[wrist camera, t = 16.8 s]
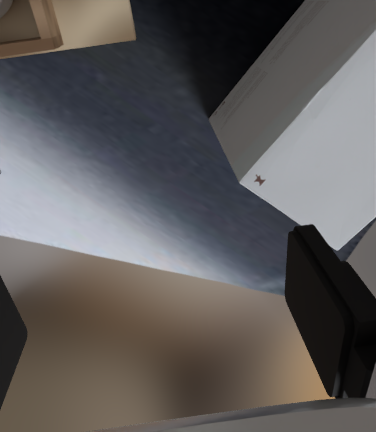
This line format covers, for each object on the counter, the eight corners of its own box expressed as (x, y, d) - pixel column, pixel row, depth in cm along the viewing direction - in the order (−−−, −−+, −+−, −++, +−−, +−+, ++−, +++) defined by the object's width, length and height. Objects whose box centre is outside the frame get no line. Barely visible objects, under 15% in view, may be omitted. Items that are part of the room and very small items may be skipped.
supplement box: (278, 175, 49) (336, 256, 34) (205, 119, 44) (234, 184, 29) (379, 69, 43) (507, 110, 27) (307, -11, 38) (415, -16, 22)
